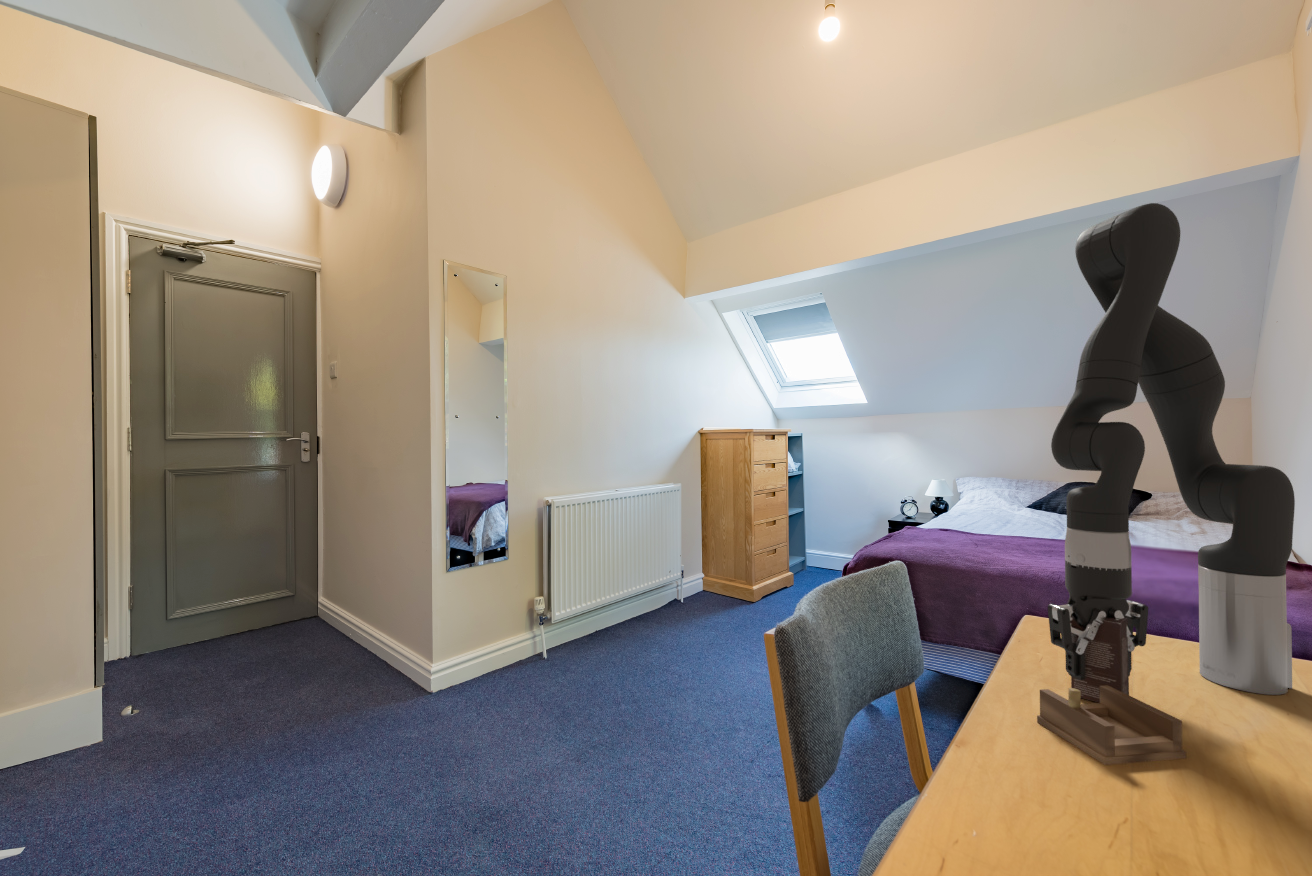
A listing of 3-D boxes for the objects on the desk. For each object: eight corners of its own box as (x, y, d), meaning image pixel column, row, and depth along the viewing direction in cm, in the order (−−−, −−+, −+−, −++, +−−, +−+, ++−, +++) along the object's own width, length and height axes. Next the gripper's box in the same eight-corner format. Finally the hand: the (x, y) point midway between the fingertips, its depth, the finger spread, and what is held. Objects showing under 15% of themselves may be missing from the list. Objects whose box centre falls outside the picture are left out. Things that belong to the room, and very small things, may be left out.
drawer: (1108, 717, 74) (1107, 669, 74) (1186, 760, 64) (1185, 704, 64) (1037, 723, 73) (1036, 673, 73) (1105, 766, 63) (1104, 709, 63)
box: (1130, 701, 79) (1128, 616, 79) (1122, 711, 76) (1121, 623, 76) (1078, 686, 83) (1077, 607, 83) (1069, 695, 80) (1068, 613, 80)
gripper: (1117, 553, 84) (1118, 663, 84) (1031, 556, 83) (1032, 668, 83) (1168, 564, 77) (1169, 685, 77) (1074, 568, 75) (1075, 691, 75)
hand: (1098, 675), depth 80 cm, fingers closed on box, 6 cm apart
